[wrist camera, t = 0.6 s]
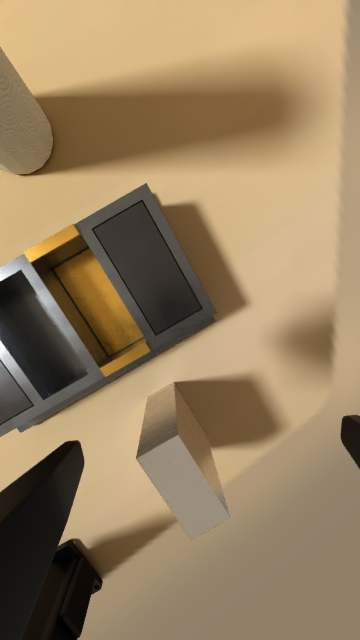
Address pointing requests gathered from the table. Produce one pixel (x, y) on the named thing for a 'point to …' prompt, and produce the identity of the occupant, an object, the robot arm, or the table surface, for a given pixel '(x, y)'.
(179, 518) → the plain gray rectangular block
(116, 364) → the rack
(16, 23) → the table surface
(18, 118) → the paper towel roll
